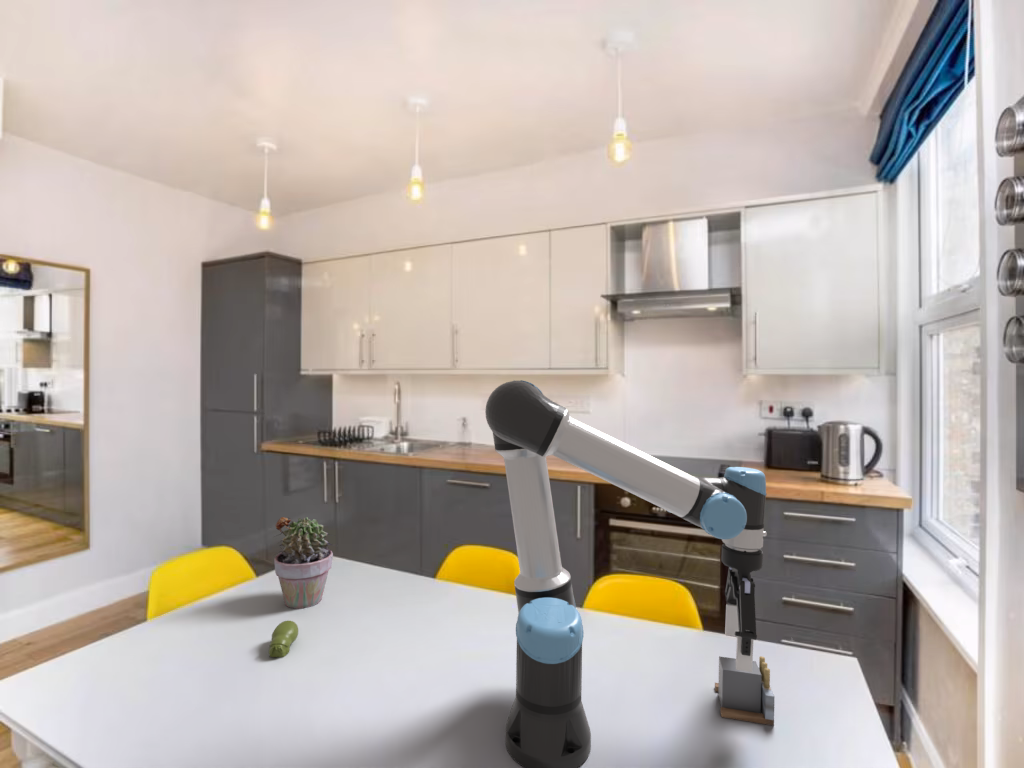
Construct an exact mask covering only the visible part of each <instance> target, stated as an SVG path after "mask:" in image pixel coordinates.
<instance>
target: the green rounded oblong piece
mask: <svg viewBox="0 0 1024 768" xmlns="http://www.w3.org/2000/svg"><path fill="white" fill-rule="evenodd" d="M298 635H299V627H298V625H297V623H296V622H295V621H293V620H285V621H282V622H280V623H279V624H278V625H277V626H276V627H275V628H274V630H273V632H272V634H271V641H270V643H269V649H268V655H269V658H284V657H286V656H287V655H288V654H289V653H290V651H291V650H290V648H291V645H292V644H293V643H294V642H295V641H296V640H297V638H298Z"/></svg>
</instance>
